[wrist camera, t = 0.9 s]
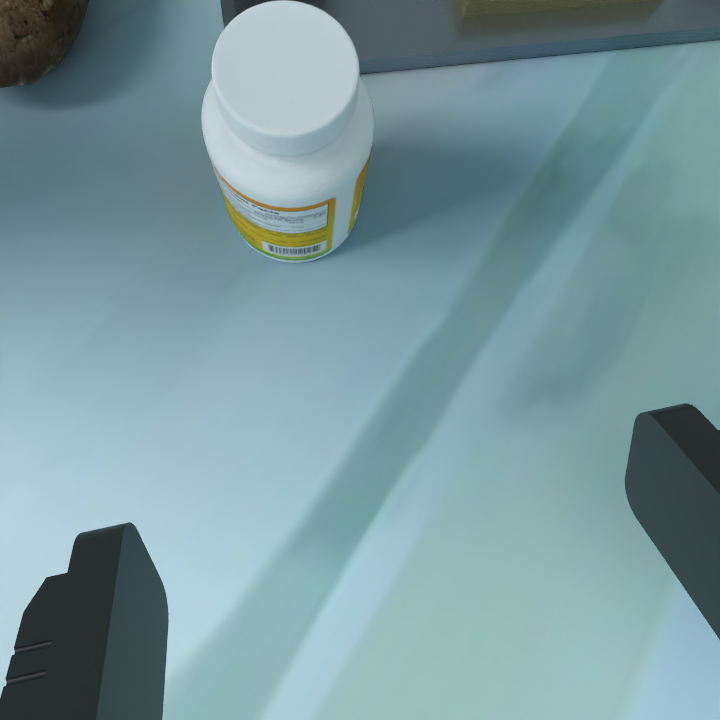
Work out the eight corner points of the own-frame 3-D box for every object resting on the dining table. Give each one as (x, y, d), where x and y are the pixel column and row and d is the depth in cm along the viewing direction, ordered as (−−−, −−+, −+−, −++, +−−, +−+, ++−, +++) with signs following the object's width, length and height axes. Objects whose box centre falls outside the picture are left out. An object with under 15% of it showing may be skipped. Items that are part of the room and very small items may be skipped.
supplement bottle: (298, 116, 28) (292, -64, 18) (385, 208, 27) (427, 75, 18) (200, 196, 27) (139, 54, 17) (289, 292, 27) (278, 201, 17)
